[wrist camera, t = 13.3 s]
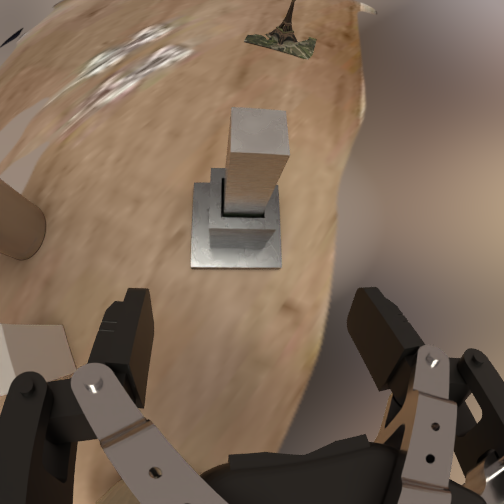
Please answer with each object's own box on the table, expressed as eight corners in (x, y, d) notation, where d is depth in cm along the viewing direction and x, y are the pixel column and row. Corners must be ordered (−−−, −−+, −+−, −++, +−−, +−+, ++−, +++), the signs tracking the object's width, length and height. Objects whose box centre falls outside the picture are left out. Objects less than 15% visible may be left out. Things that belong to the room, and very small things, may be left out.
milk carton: (63, 324, 36) (-23, 322, 17) (77, 371, 34) (-2, 398, 16) (29, 335, 34) (-56, 335, 16) (43, 379, 33) (-39, 402, 15)
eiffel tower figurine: (242, 43, 51) (249, -6, 38) (254, 23, 54) (262, -21, 41) (310, 62, 52) (329, 16, 39) (316, 40, 55) (332, -2, 42)
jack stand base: (191, 268, 40) (183, 251, 30) (194, 187, 42) (190, 149, 32) (279, 269, 41) (300, 253, 31) (276, 189, 44) (293, 153, 34)
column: (222, 225, 34) (230, 152, 19) (223, 193, 35) (231, 107, 20) (257, 225, 35) (290, 155, 19) (256, 194, 36) (285, 110, 20)
